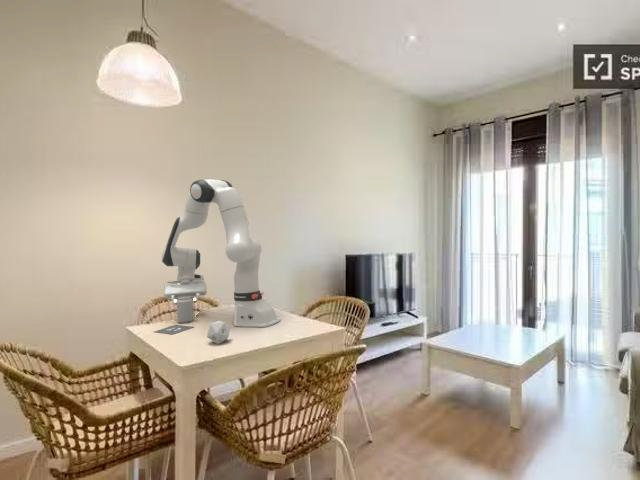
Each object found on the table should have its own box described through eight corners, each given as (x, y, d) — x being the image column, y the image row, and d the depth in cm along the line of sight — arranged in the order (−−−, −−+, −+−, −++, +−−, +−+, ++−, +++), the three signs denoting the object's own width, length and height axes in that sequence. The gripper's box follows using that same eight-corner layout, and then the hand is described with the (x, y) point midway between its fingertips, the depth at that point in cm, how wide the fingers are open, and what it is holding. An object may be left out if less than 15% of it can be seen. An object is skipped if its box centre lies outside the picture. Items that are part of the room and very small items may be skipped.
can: (188, 323, 169) (186, 298, 168) (174, 323, 170) (172, 298, 170) (197, 319, 176) (195, 295, 176) (183, 319, 178) (182, 295, 177)
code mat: (194, 327, 162) (194, 326, 162) (172, 334, 151) (172, 334, 151) (175, 325, 168) (175, 324, 168) (153, 332, 157) (153, 331, 157)
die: (204, 348, 134) (215, 328, 131) (201, 331, 140) (212, 313, 138) (224, 350, 138) (236, 332, 136) (221, 335, 145) (232, 317, 142)
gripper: (163, 278, 181) (161, 301, 172) (206, 275, 187) (206, 297, 177) (165, 285, 186) (163, 308, 177) (206, 282, 191) (207, 304, 182)
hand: (185, 302), depth 177 cm, fingers open, 8 cm apart
